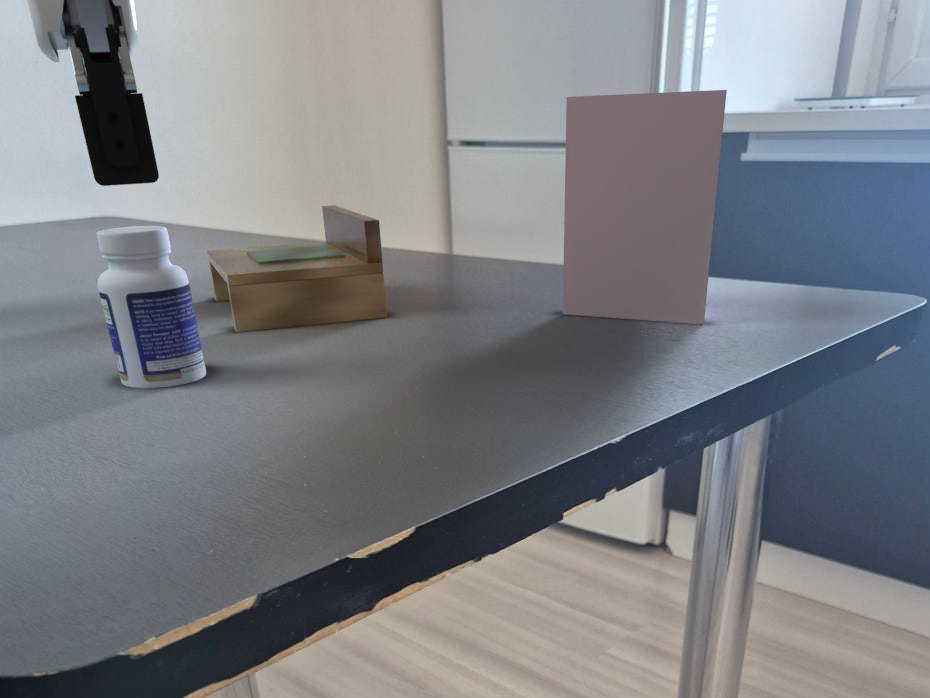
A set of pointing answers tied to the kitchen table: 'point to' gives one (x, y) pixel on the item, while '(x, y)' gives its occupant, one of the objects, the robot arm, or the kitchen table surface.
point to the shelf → (305, 277)
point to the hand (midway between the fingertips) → (126, 180)
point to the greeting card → (641, 204)
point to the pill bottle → (148, 309)
